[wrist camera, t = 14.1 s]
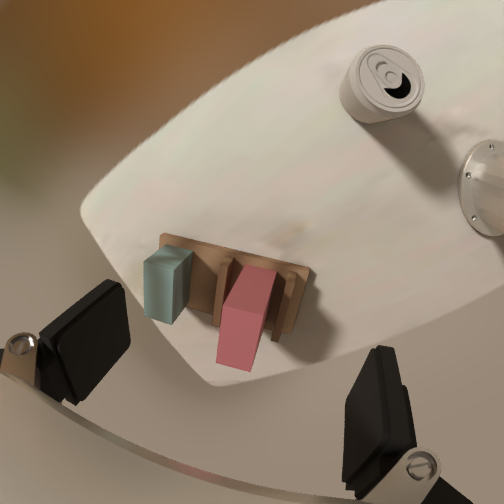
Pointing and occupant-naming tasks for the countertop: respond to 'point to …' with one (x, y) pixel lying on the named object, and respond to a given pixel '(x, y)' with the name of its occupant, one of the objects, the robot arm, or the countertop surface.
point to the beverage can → (381, 84)
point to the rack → (215, 282)
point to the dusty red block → (245, 317)
